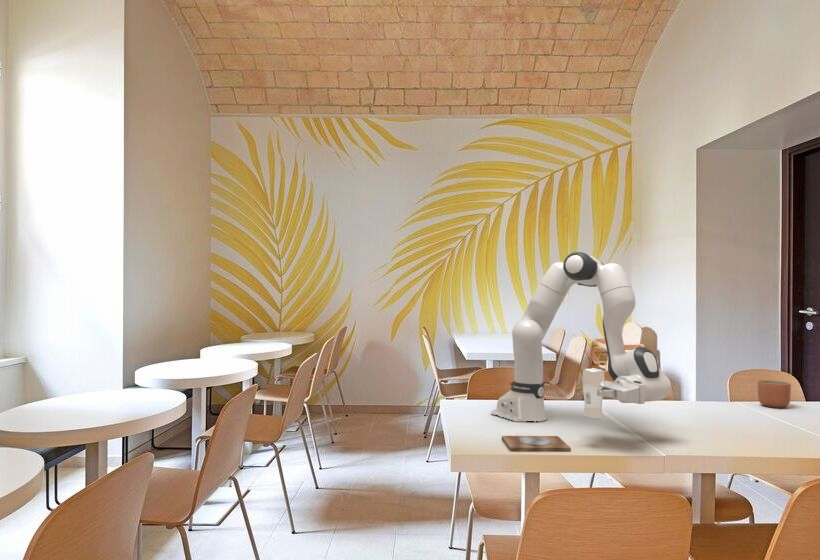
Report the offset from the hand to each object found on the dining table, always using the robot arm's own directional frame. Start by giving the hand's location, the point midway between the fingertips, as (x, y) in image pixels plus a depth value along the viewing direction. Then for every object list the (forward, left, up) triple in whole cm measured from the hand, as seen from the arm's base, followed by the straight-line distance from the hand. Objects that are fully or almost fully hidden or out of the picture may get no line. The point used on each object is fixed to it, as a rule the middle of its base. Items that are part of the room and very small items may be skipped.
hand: (591, 391), depth 181 cm
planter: (+18, +121, -18) cm, 124 cm away
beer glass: (0, +1, -8) cm, 8 cm away
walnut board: (-12, -13, -18) cm, 25 cm away
